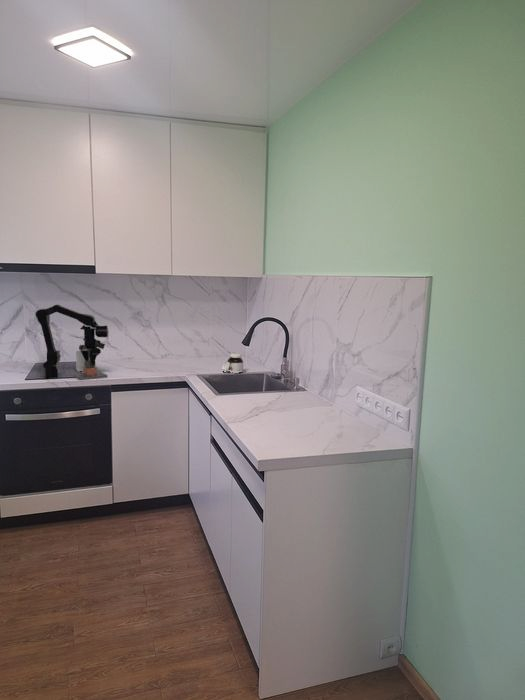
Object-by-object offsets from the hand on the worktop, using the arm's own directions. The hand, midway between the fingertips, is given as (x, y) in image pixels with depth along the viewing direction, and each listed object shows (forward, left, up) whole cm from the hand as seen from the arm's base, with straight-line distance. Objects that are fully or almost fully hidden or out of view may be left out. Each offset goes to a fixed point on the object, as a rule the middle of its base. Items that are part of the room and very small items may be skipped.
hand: (90, 363), depth 280 cm
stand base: (0, 0, -8) cm, 8 cm away
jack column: (0, 0, -6) cm, 6 cm away
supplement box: (+4, +20, -8) cm, 22 cm away
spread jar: (+80, -31, -8) cm, 86 cm away
